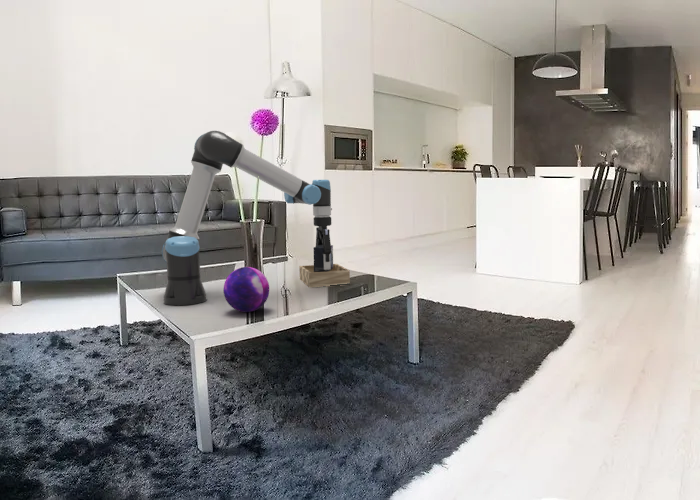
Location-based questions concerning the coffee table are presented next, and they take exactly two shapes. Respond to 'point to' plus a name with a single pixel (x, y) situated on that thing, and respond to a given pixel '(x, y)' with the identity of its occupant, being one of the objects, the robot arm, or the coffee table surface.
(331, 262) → the small box
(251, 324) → the coffee table surface
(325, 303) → the coffee table surface
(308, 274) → the pine crate
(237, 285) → the decorative orb
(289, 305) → the coffee table surface
